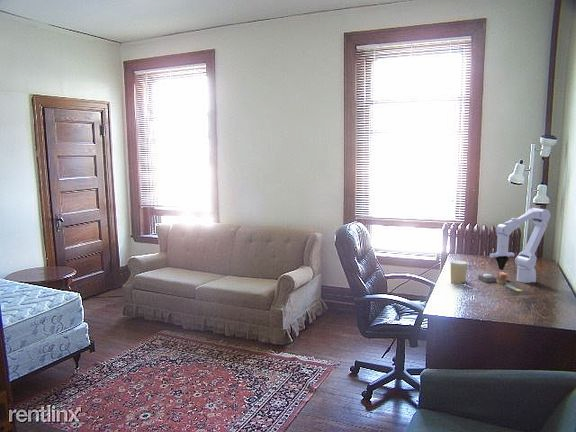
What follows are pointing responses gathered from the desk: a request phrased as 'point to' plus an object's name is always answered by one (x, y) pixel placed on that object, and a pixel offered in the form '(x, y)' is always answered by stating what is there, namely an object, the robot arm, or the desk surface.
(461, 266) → the coffee cup
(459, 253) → the desk surface
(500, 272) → the die
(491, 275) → the dome
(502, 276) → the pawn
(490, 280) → the board
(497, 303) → the desk surface
